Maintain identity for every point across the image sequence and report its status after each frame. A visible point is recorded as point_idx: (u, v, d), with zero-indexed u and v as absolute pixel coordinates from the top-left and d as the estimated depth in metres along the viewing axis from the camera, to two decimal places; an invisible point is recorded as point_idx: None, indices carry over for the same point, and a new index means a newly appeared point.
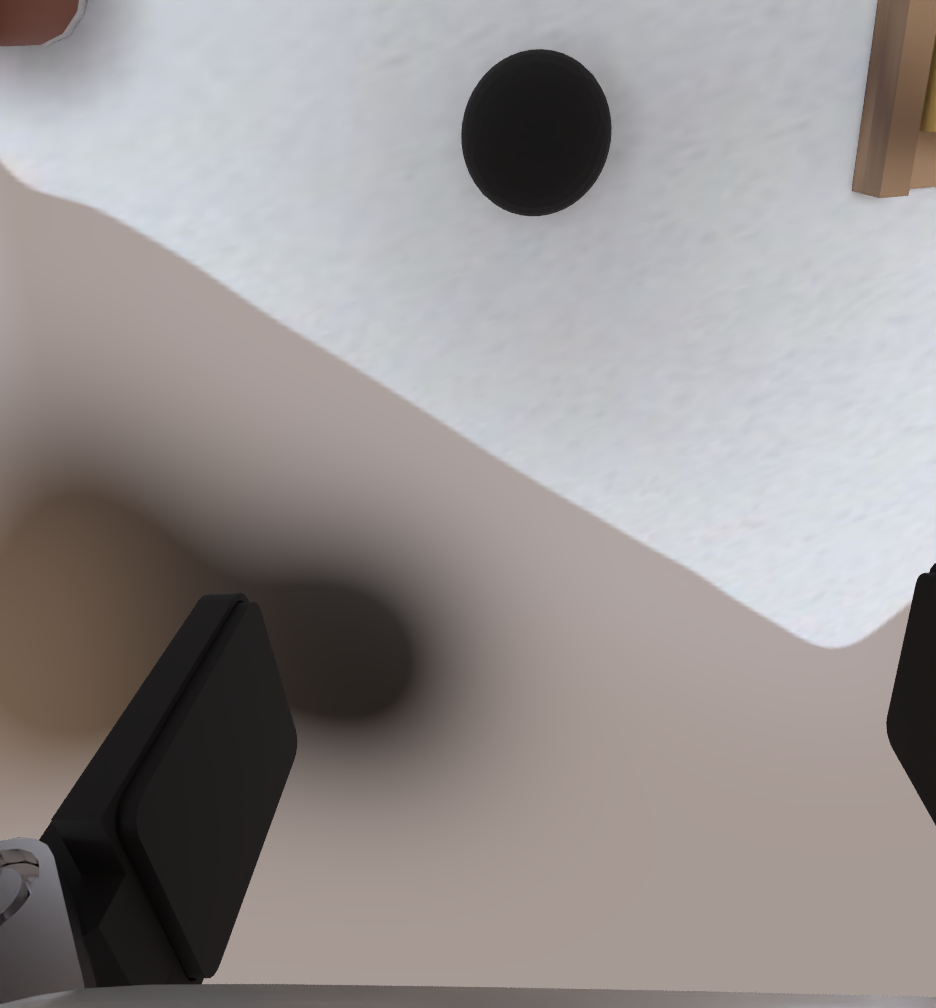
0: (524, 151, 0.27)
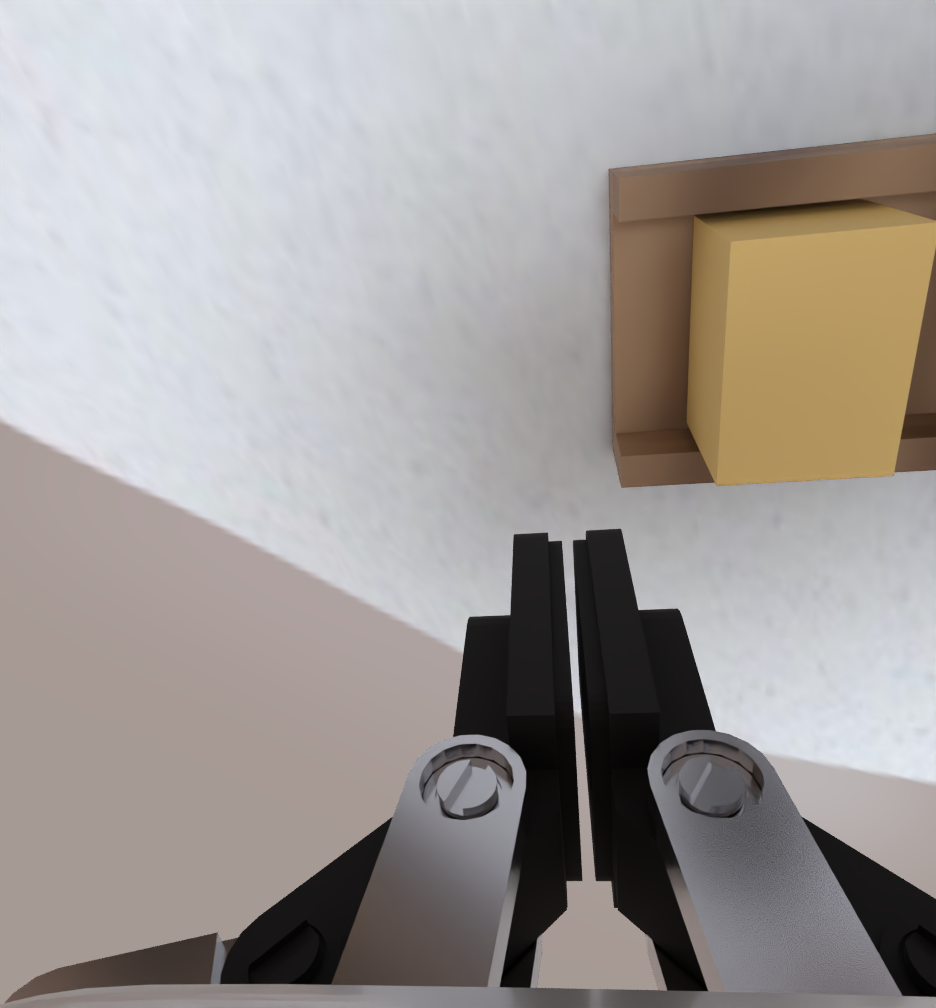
0: None
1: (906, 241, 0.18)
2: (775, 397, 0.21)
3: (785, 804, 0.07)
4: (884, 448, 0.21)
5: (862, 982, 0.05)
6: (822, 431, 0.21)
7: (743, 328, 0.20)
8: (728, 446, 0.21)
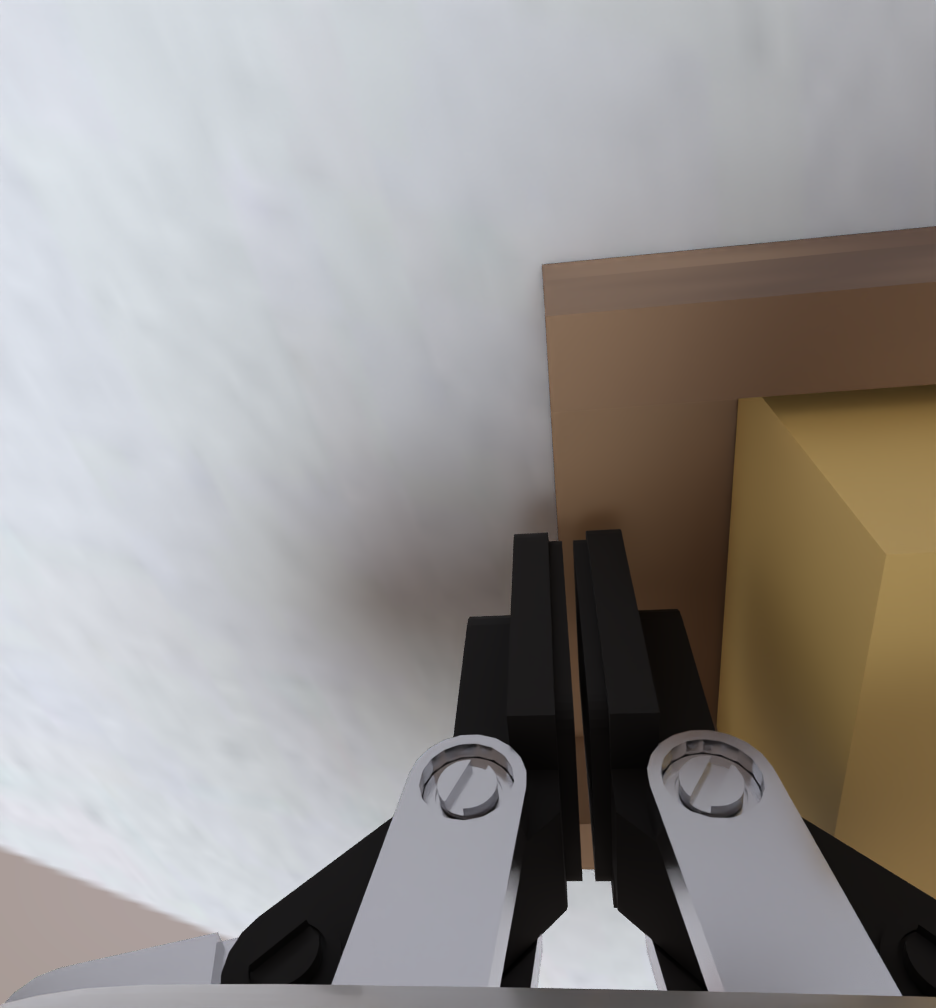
0: None
1: None
2: None
3: (784, 804, 0.07)
4: None
5: (862, 982, 0.05)
6: None
7: (899, 747, 0.07)
8: None
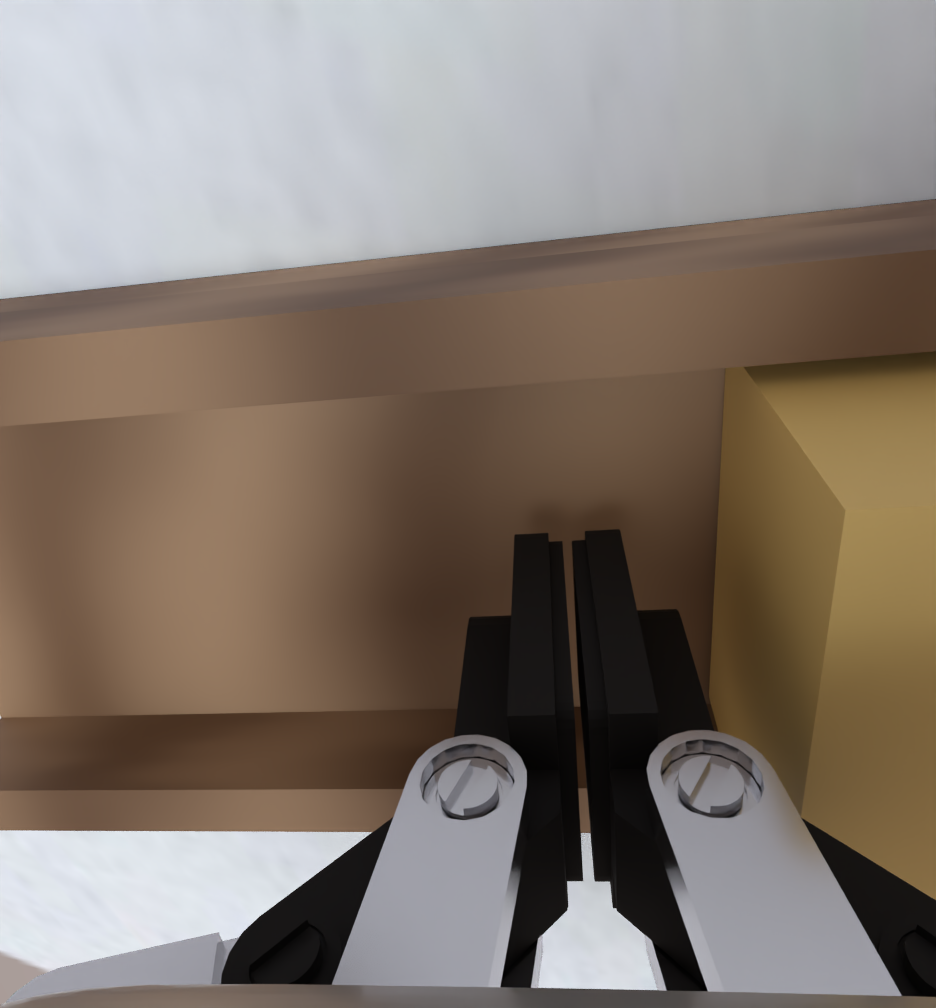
0: None
1: None
2: (932, 830, 0.08)
3: (784, 804, 0.07)
4: None
5: (861, 982, 0.05)
6: None
7: (864, 700, 0.08)
8: None
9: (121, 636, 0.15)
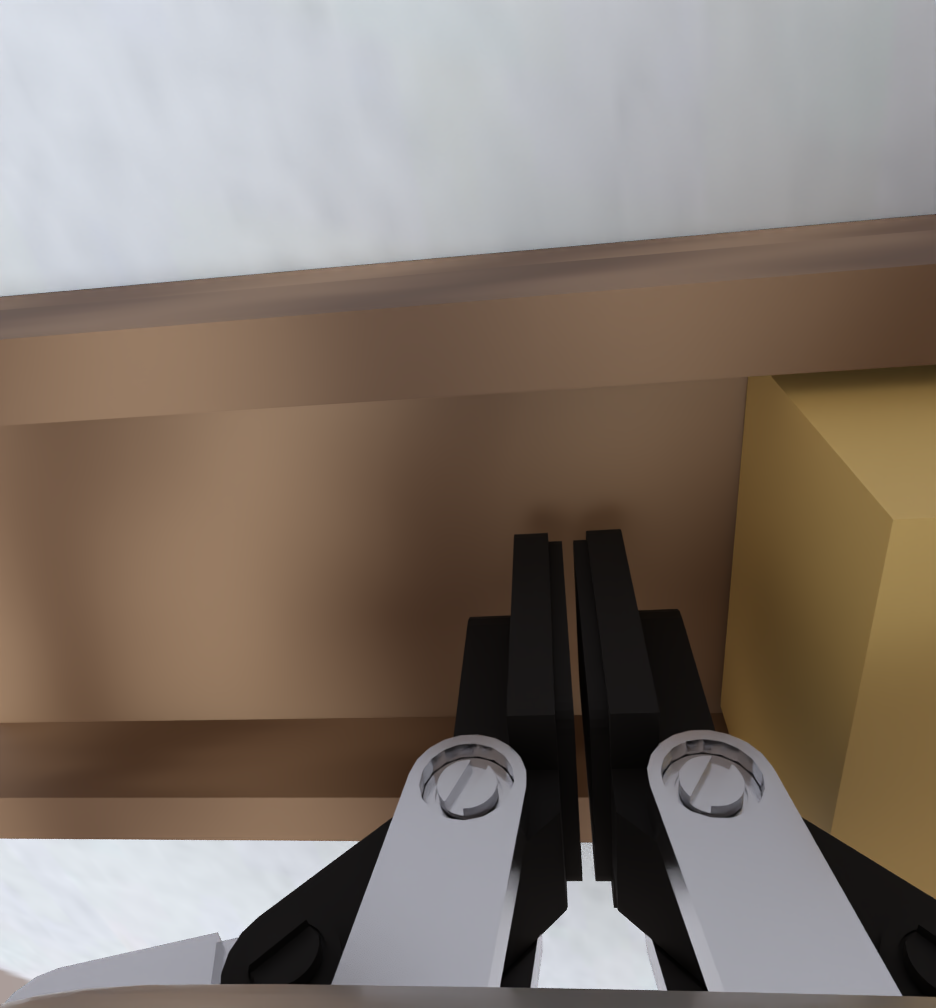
0: None
1: None
2: None
3: (785, 804, 0.07)
4: None
5: (862, 982, 0.05)
6: None
7: (902, 709, 0.08)
8: None
9: (125, 640, 0.15)
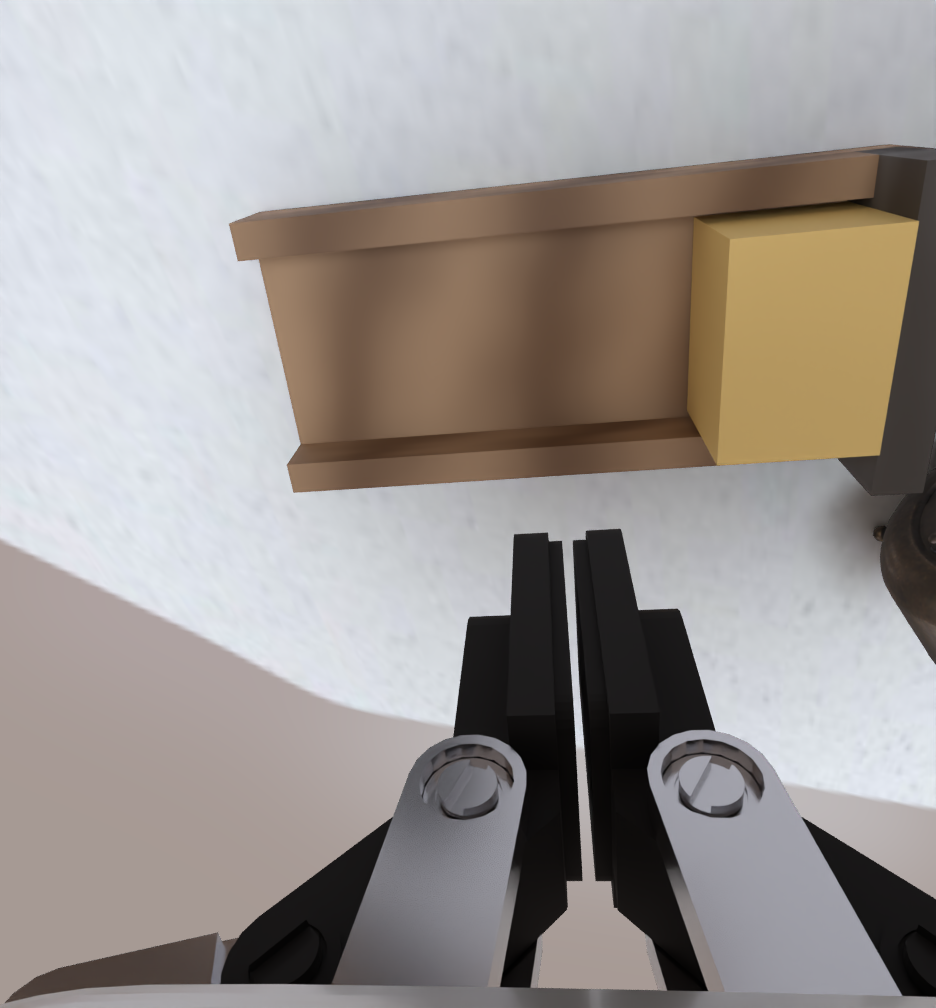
0: None
1: (888, 238, 0.20)
2: (770, 382, 0.22)
3: (785, 804, 0.07)
4: (870, 429, 0.23)
5: (862, 982, 0.05)
6: (813, 414, 0.23)
7: (741, 318, 0.22)
8: (727, 428, 0.23)
9: (381, 386, 0.29)
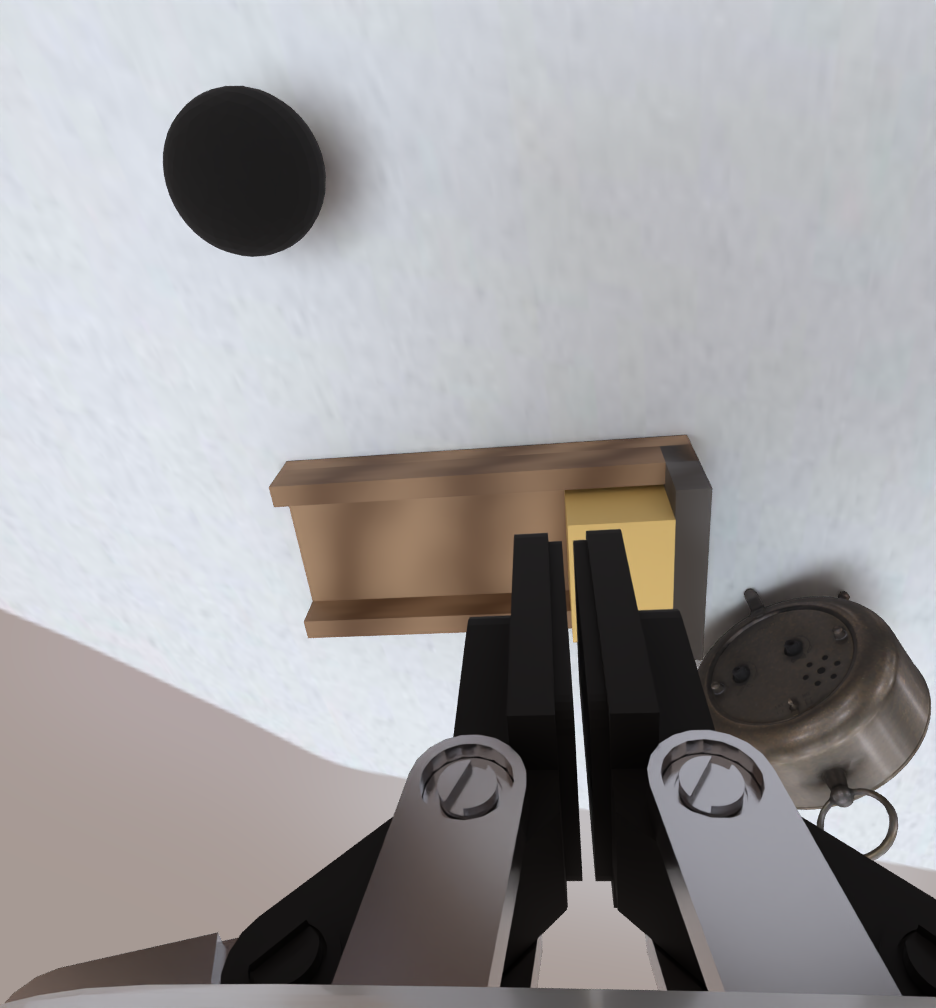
0: (205, 168, 0.25)
1: (659, 528, 0.35)
2: None
3: (784, 804, 0.07)
4: None
5: (862, 983, 0.05)
6: None
7: None
8: None
9: (366, 568, 0.43)
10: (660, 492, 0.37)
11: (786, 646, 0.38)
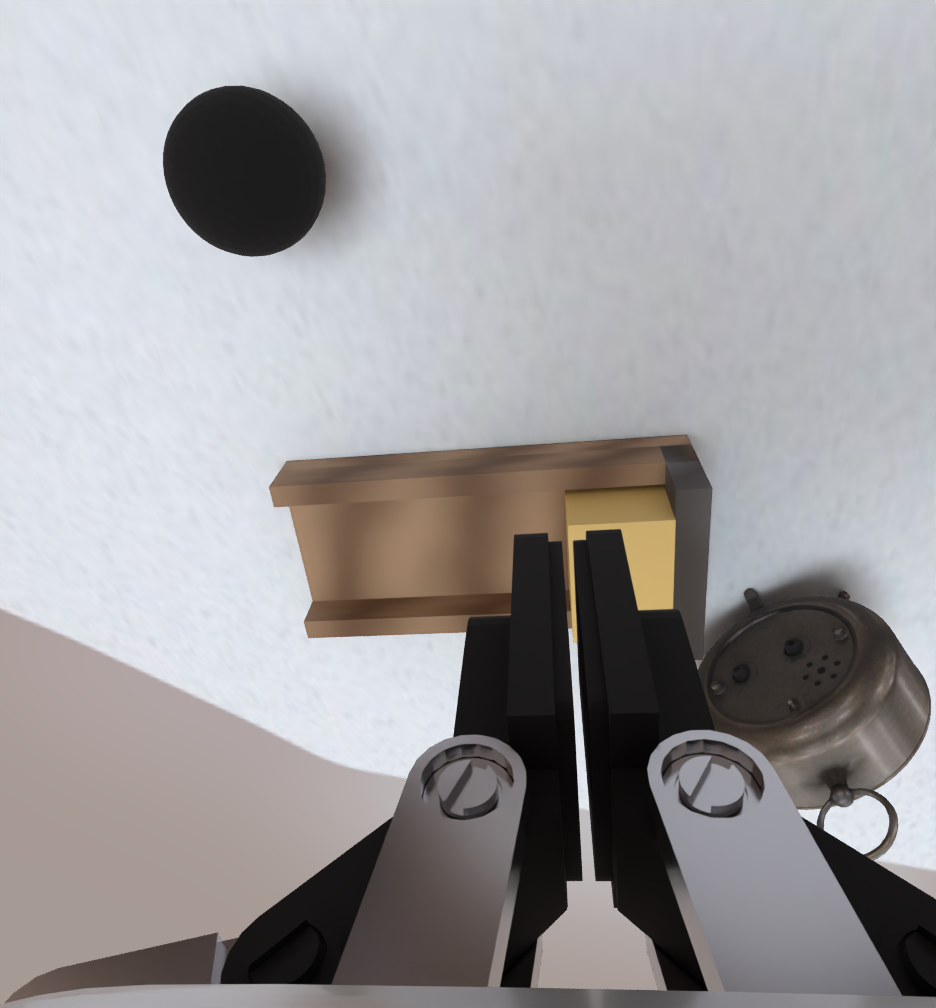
0: (205, 168, 0.25)
1: (659, 527, 0.35)
2: None
3: (785, 804, 0.07)
4: None
5: (863, 982, 0.05)
6: None
7: None
8: None
9: (366, 568, 0.43)
10: (660, 492, 0.37)
11: (786, 646, 0.38)
